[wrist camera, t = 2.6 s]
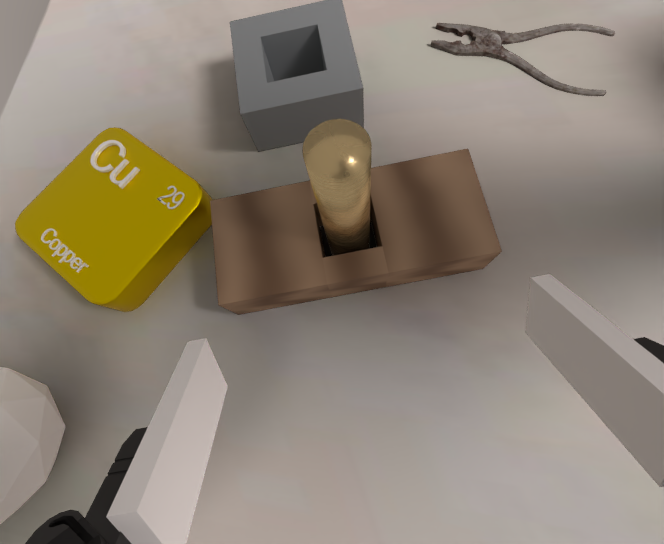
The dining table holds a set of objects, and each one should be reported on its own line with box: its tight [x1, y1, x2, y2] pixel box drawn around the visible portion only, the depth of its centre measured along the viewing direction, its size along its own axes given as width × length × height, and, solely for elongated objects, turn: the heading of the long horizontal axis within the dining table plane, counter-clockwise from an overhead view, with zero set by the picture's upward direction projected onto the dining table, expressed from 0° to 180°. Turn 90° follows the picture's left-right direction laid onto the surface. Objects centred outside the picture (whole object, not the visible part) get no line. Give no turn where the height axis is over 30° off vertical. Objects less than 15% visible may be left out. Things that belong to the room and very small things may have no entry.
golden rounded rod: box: [303, 119, 371, 256], centre depth 28 cm, size 4×4×16 cm
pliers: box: [431, 23, 615, 96], centre depth 40 cm, size 10×1×20 cm
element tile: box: [15, 128, 213, 312], centre depth 37 cm, size 15×15×5 cm
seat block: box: [230, 0, 364, 151], centre depth 39 cm, size 12×12×6 cm
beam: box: [210, 149, 502, 315], centre depth 34 cm, size 24×10×5 cm, turn 100°
